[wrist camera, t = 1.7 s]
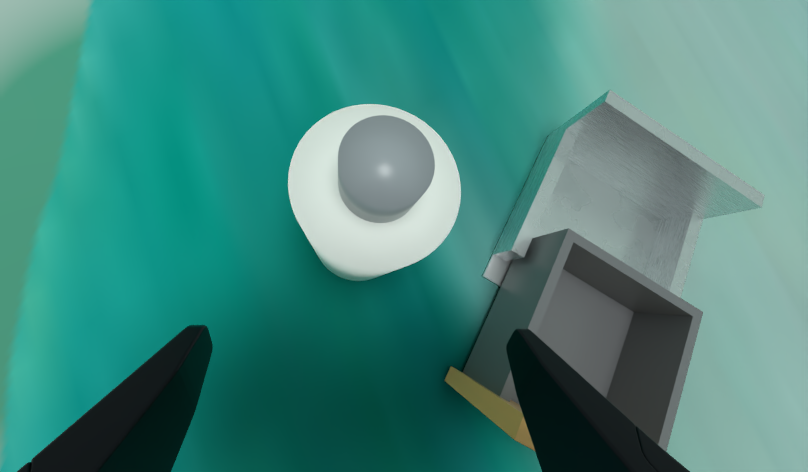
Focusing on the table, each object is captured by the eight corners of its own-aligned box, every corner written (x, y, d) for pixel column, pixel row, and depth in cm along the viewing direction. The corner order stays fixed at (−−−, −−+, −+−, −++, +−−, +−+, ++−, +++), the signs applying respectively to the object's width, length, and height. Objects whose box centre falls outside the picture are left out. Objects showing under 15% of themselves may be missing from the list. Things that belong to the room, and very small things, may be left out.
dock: (625, 360, 24) (720, 383, 18) (481, 275, 23) (532, 270, 17) (670, 216, 27) (764, 195, 21) (547, 135, 26) (610, 89, 20)
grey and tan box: (592, 462, 22) (748, 566, 13) (444, 380, 21) (514, 439, 12) (639, 313, 24) (792, 325, 16) (511, 235, 23) (604, 204, 15)
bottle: (362, 299, 21) (397, 312, 8) (293, 239, 21) (225, 158, 8) (419, 234, 22) (521, 162, 10) (356, 177, 22) (378, 29, 10)
